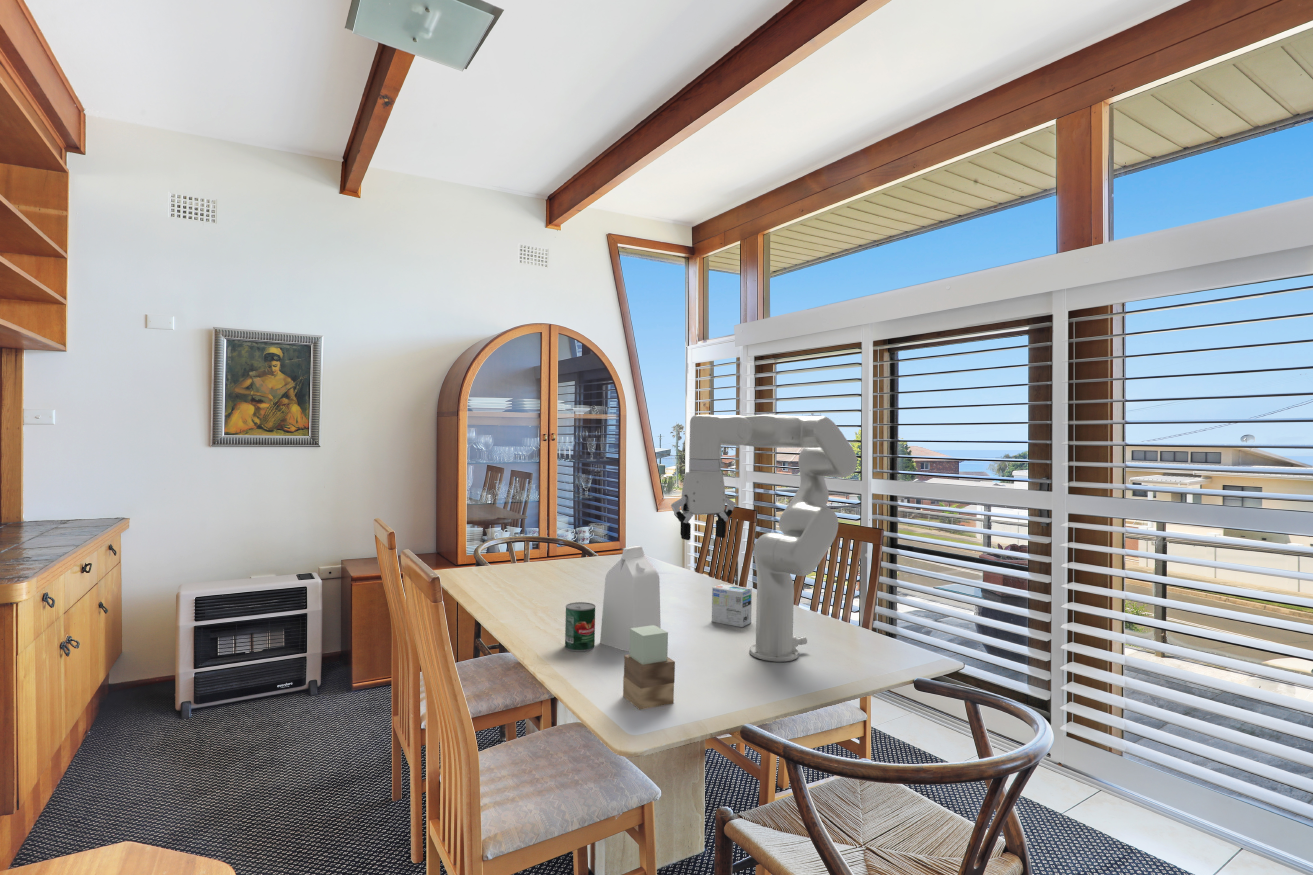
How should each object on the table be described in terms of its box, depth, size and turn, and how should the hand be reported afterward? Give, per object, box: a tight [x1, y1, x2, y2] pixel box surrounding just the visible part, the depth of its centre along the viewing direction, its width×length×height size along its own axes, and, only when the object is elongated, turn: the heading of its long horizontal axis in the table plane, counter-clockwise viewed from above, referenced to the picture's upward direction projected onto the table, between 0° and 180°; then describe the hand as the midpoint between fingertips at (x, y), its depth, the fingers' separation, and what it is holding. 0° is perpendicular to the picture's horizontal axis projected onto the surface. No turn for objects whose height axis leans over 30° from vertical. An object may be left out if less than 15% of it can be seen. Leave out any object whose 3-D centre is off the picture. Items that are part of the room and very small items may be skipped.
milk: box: [599, 545, 662, 652], centre depth 183 cm, size 12×12×26 cm
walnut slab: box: [623, 654, 676, 689], centre depth 144 cm, size 8×8×4 cm
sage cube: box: [628, 625, 669, 665], centre depth 144 cm, size 6×6×6 cm
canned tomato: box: [564, 601, 597, 653], centre depth 178 cm, size 8×8×11 cm
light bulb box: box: [711, 583, 753, 628], centre depth 206 cm, size 11×7×11 cm, turn 58°
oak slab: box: [622, 675, 675, 711], centre depth 144 cm, size 8×8×4 cm
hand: (703, 538), depth 160 cm, fingers open, 9 cm apart
